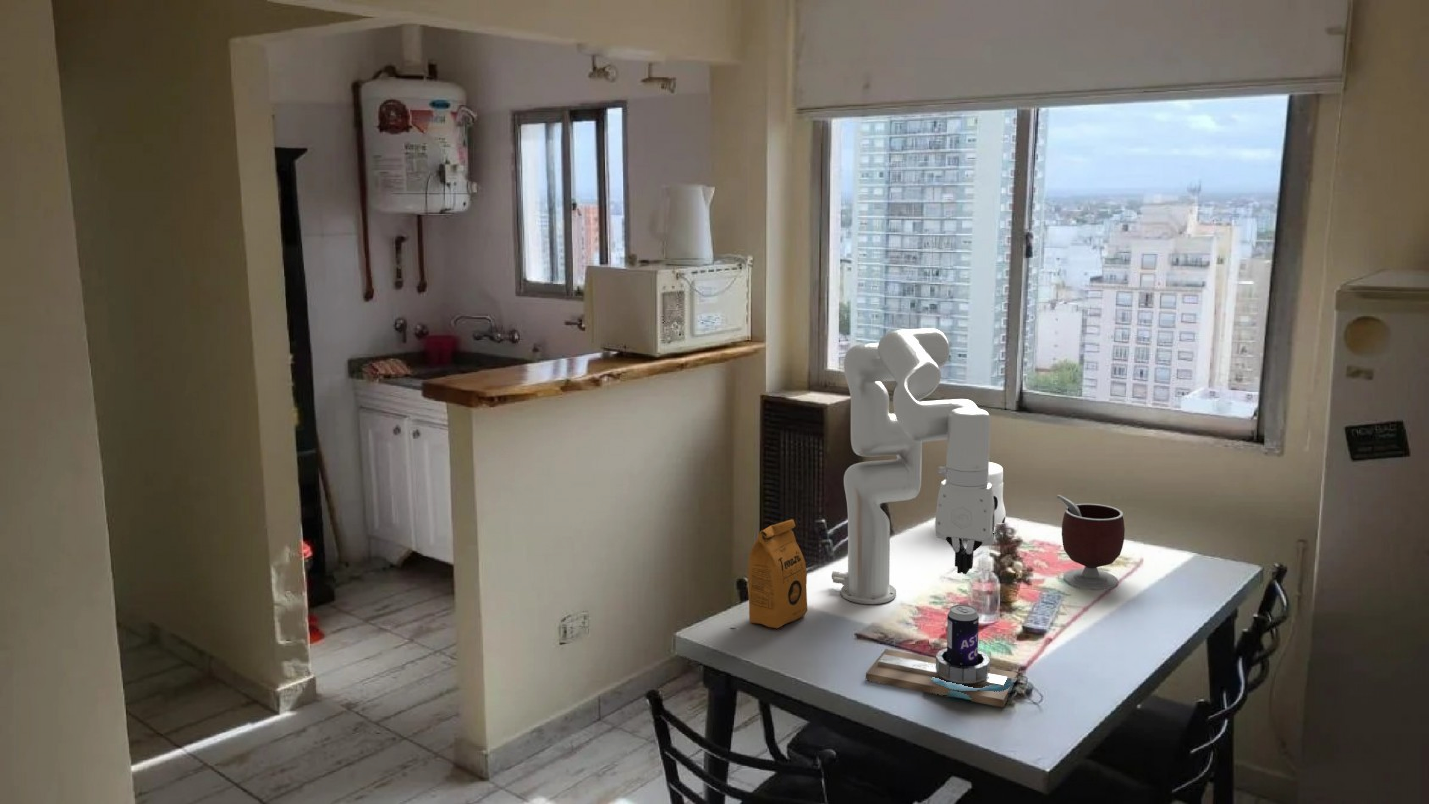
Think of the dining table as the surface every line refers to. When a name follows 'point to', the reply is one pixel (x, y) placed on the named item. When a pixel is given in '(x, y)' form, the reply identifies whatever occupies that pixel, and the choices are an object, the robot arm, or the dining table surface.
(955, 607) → the beverage can
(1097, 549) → the mate gourd
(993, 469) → the milk container
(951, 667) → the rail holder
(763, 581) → the coffee package
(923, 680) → the mount board
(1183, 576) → the dining table surface
